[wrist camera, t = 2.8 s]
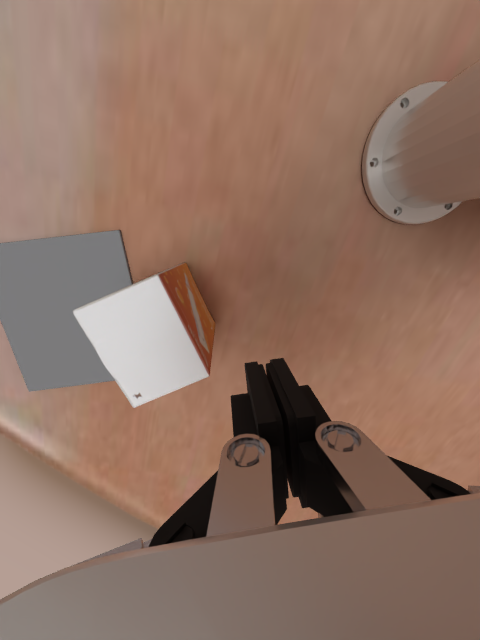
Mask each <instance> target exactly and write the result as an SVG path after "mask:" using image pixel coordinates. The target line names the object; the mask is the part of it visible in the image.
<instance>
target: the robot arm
mask: <svg viewBox="0 0 480 640" xmlns="http://www.w3.org/2000/svg"><path fill="white" fill-rule="evenodd" d="M370 163H371V165H372V166H370ZM362 176H363V183H364V187H365V190H366V194H367V196H368V197H369V199H370V201H371V203H372V205H373V206H374V207H375V208H376V209H377V211H378V212H379V213H381V214H382V215H383V216H385V217H386V218H388V219H390V220H392V221H394V222H397V223H402V224H421V223H427V222H431V221H434V220H437V219H439V218H441V217H443V216H445V215H447V214H448V213H450V212H451V211H452V210H454V209H455V208H456V207H458V206H459V205H460V204H461V202H462V201H466V200H472V199H478V198H480V60H478V61H477V62H476V63H474V64H473V65H471V66H470V67H469V68H467V69H466V70H465V71H463V72H462V73H460V74H459V75H458V76H456V77H455V78H453V79H452V80H451V81H449V82H447V81H432V82H428V83H423V84H420V85H418V86H416V87H413V88H411V89H409V90H408V91H406V92H405V93H403V94H402V95H401V96H399V97H398V98H397V99H396V100H394V101H393V102H392V103H391V104H390V105H389V106H388V107H387V108H386V109H385V110H384V111H383V113H382V114H381V115H380V116H379V117H378V119H377V121H376V122H375V124H374V126H373V127H372V129H371V131H370V134H369V136H368V139H367V141H366V144H365V149H364V153H363V159H362ZM245 373H246V381H247V390H248V393H246V394H239V395H232V396H231V407H232V420H233V434H234V437H233V438H232V439H230V440H229V441H228V442H227V443H226V444H225V445H224V447H223V450H222V453H221V458H220V464H219V469H218V471H217V472H216V473H215V474H214V475H213V476H212V477H211V478H210V479H209V480H208V481H207V482H206V483H205V484H204V485H203V486H202V487H201V488H200V489H199V490H198V491H197V492H196V493H195V494H194V495H193V496H192V497H191V498H189V499H188V500H187V501H186V502H185V503H184V504H183V505H182V506H181V507H180V508H179V509H178V510H177V511H176V512H175V513H174V514H173V515H172V516H171V517H170V518H169V519H168V520H167V521H166V522H165V523H164V524H163V525H162V526H161V527H160V528H159V530H158V531H157V532H156V534H155V535H154V537H153V539H151V540H149V541H146V542H144V543H143V541H142V538H140V539H138V540H135V541H133V542H130V543H128V544H125V545H123V546H120V547H118V548H115V549H113V550H110V551H108V552H105V553H103V554H100V555H98V556H95V557H93V558H90V559H88V560H85V561H83V562H80V563H78V564H75V565H73V566H70V567H67V568H64V569H62V570H60V571H57V572H55V573H52V574H50V575H48V576H45V577H43V578H40V579H38V580H36V581H34V582H32V583H30V584H28V585H26V586H25V587H23V588H21V589H19V590H17V591H15V592H13V593H12V594H10V595H8V596H6V597H4V598H2V599H1V600H0V640H480V486H468V490H466V489H464V488H463V487H461V486H460V485H458V484H456V483H454V482H452V481H450V480H447V479H445V478H442V477H440V476H437V475H434V474H432V473H429V472H427V471H424V470H422V469H419V468H417V467H414V466H412V465H409V464H407V463H404V462H402V461H399V460H397V459H394V458H392V457H389V456H387V455H385V454H384V453H383V452H382V451H381V450H380V449H379V448H378V447H377V446H376V445H375V444H374V443H373V442H372V441H371V440H370V439H369V438H368V437H367V436H366V435H365V434H364V433H363V432H362V431H361V430H360V429H358V428H357V427H356V426H353V425H351V424H349V423H346V422H342V421H331V420H330V418H329V417H328V415H327V413H326V412H325V410H324V409H323V407H322V406H321V404H320V402H319V401H318V399H317V398H316V396H315V395H314V393H313V391H312V390H311V388H310V387H309V386H308V385H304V386H299V385H298V383H297V382H296V380H295V378H294V376H293V375H292V373H291V371H290V369H289V368H288V366H287V364H286V362H285V360H284V359H283V358H280V359H272V360H270V363H268V364H266V373H267V375H266V373H265V370H264V367H263V365H262V364H260V365H258V363H257V362H250V363H245ZM287 479H288V482H289V485H290V489H291V492H292V495H293V497H299V499H300V503H301V506H302V508H307V507H310V508H311V509H313V510H315V511H316V512H318V518H316V519H310V520H304V521H298V522H292V523H286V524H280V525H278V524H277V523H278V522H279V520H280V519H281V517H282V516H283V514H284V513H285V511H286V510H287V505H286V498H289V495H288V482H287Z"/></svg>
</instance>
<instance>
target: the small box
mask: <svg viewBox="0 0 480 640" xmlns="http://www.w3.org/2000/svg"><path fill="white" fill-rule="evenodd" d="M73 314H74V316H75V318H76V319H77V321H78V323H79V324H80V326H81V327H82V329H83V331H84V332H85V334H86V336H87V337H88V339H89V340H90V342H91V343H92V345H93V347H94V348H95V350H96V352H97V353H98V355H99V357H100V359H101V361H102V362H103V364H104V366H105V367H106V369H107V370H108V371H109V373H110V374H111V375H112V377H113V378H114V379H115V381H116V382H117V384H118V385H119V387H120V388H121V390H122V391H123V393H124V394H125V396H126V397H127V399H128V400H129V402H130V403H131V405H132V406H133V407H134V408H135V407H137V406H140V405H142V404H144V403H146V402H149V401H151V400H154V399H156V398H158V397H161V396H163V395H166V394H168V393H171V392H173V391H175V390H178V389H180V388H182V387H185V386H187V385H190V384H192V383H194V382H197V381H199V380H201V379H204V378H206V377H209V376H210V367H211V358H212V349H213V340H214V332H215V322H214V320H213V318H212V317H211V315H210V313H209V311H208V309H207V307H206V305H205V302H204V300H203V298H202V296H201V294H200V292H199V290H198V288H197V286H196V284H195V281H194V279H193V277H192V275H191V273H190V271H189V268H188V266H187V264H186V263H185V262H184V263H182V264H179V265H177V266H174V267H172V268H170V269H167V270H165V271H163V272H160V273H158V274H156V275H153V276H151V277H149V278H146V279H144V280H142V281H139V282H137V283H135V284H132V285H130V286H127V287H125V288H123V289H120V290H118V291H116V292H114V293H111V294H109V295H107V296H104V297H102V298H100V299H97V300H95V301H93V302H90V303H88V304H86V305H84V306H81V307H79V308H77V309H75V310H73Z"/></svg>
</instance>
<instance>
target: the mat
mask: <svg viewBox="0 0 480 640" xmlns="http://www.w3.org/2000/svg"><path fill="white" fill-rule="evenodd" d="M132 284H133V282H132V278H131V274H130V269H129V265H128V261H127V257H126V252H125V248H124V244H123V239H122V235H121V231H120V230H115V231H107V232H98V233H89V234H80V235H71V236H62V237H53V238H44V239H35V240H26V241H17V242H8V243H0V320H1V323H2V325H3V328H4V330H5V333H6V335H7V338H8V340H9V343H10V345H11V348H12V350H13V353H14V355H15V358H16V360H17V363H18V365H19V368H20V370H21V373H22V375H23V378H24V380H25V383H26V385H27V388H28V390H29V391H37V390H45V389H53V388H60V387H68V386H76V385H84V384H92V383H99V382H107V381H115V379H114V378H113V377H112V375H111V374H110V373H109V371H108V370H107V369H106V367H105V366H104V364H103V362H102V361H101V359H100V357H99V355H98V353H97V352H96V350H95V348H94V347H93V345H92V343H91V342H90V340H89V339H88V337H87V336H86V334H85V332H84V331H83V329H82V327H81V326H80V324H79V323H78V321H77V319H76V318H75V316H74V314H73V310H75V309H77V308H79V307H81V306H84V305H86V304H88V303H90V302H93V301H95V300H97V299H100V298H102V297H104V296H107V295H109V294H111V293H114V292H116V291H118V290H120V289H123V288H125V287H127V286H130V285H132Z"/></svg>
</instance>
